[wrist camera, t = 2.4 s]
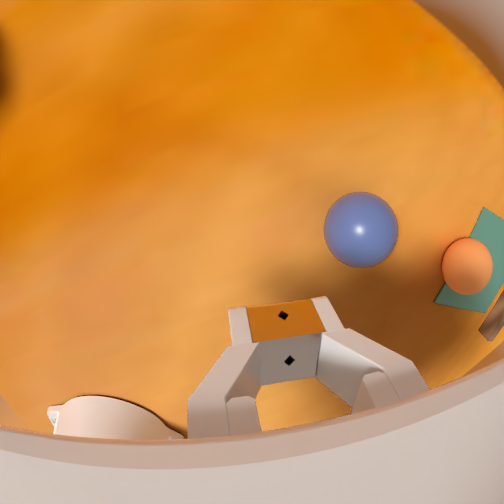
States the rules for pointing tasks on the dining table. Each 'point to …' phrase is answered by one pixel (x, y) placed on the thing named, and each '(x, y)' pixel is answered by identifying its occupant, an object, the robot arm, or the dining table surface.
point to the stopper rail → (494, 320)
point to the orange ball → (467, 266)
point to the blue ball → (360, 229)
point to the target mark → (500, 247)
